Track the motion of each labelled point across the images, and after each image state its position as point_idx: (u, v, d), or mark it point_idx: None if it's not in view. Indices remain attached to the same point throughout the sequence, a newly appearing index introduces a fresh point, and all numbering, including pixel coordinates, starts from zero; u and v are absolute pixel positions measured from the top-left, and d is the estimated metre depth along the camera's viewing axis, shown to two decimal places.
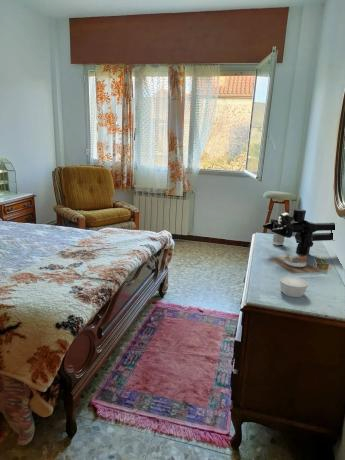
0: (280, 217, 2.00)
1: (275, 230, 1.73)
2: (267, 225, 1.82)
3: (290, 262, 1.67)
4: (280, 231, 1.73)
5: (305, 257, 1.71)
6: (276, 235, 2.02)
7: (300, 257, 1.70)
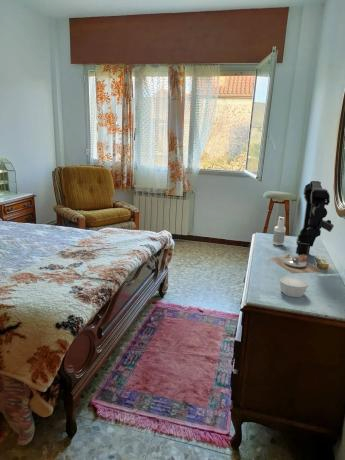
0: (280, 217, 2.00)
1: None
2: None
3: (290, 262, 1.67)
4: None
5: (305, 257, 1.71)
6: (276, 235, 2.02)
7: (300, 257, 1.70)
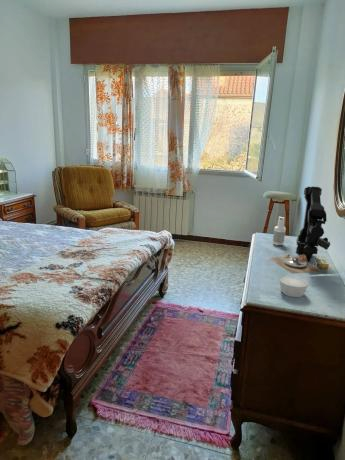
0: (280, 217, 2.00)
1: None
2: None
3: (290, 262, 1.67)
4: None
5: (305, 257, 1.71)
6: (276, 235, 2.02)
7: (300, 257, 1.70)
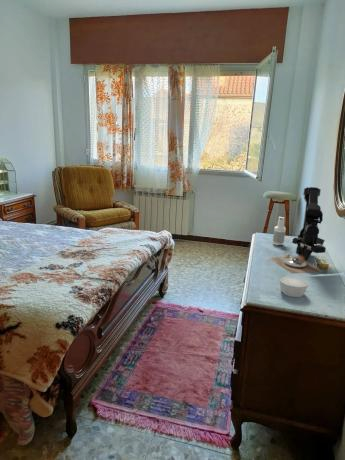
0: (280, 217, 2.00)
1: None
2: None
3: (290, 262, 1.67)
4: None
5: None
6: (276, 235, 2.02)
7: (300, 257, 1.70)
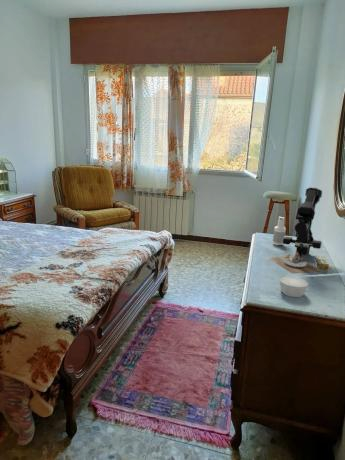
0: (280, 217, 2.00)
1: None
2: None
3: (293, 263, 1.66)
4: None
5: (298, 255, 1.74)
6: (276, 235, 2.02)
7: (296, 256, 1.72)
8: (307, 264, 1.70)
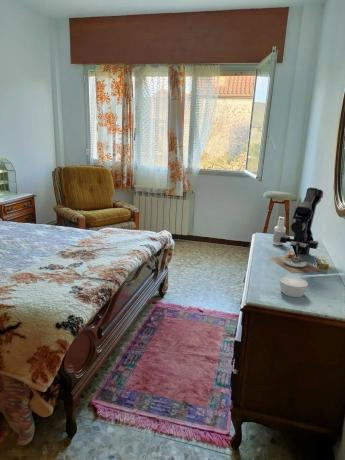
0: (280, 217, 2.00)
1: None
2: None
3: (296, 264, 1.65)
4: None
5: None
6: (276, 235, 2.02)
7: (293, 256, 1.72)
8: (307, 264, 1.70)
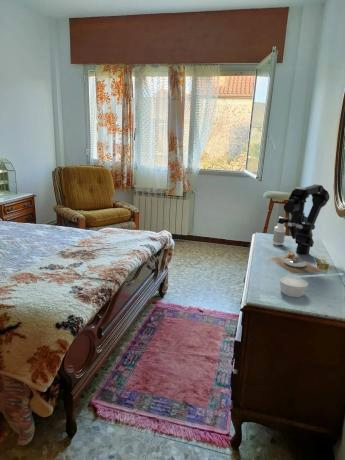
0: (280, 217, 2.00)
1: None
2: None
3: (296, 264, 1.65)
4: None
5: None
6: (276, 235, 2.02)
7: (293, 256, 1.72)
8: (307, 264, 1.70)
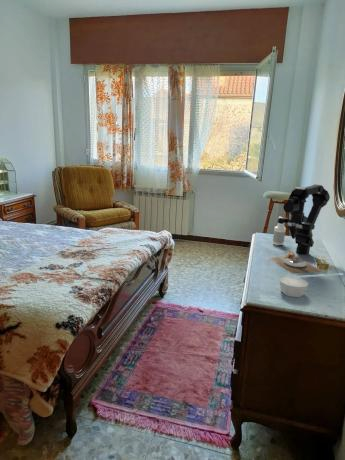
0: (280, 217, 2.00)
1: None
2: None
3: (296, 264, 1.65)
4: None
5: None
6: (276, 235, 2.02)
7: (293, 256, 1.72)
8: (307, 264, 1.70)
